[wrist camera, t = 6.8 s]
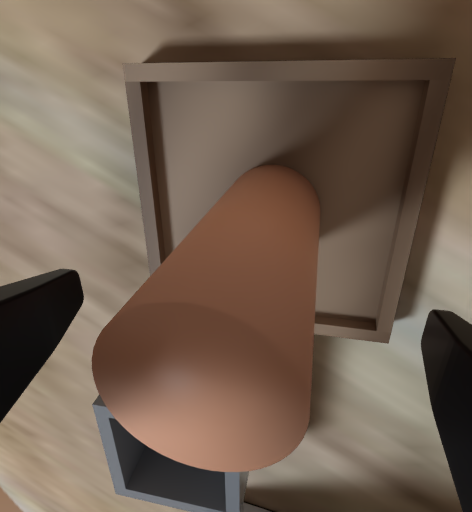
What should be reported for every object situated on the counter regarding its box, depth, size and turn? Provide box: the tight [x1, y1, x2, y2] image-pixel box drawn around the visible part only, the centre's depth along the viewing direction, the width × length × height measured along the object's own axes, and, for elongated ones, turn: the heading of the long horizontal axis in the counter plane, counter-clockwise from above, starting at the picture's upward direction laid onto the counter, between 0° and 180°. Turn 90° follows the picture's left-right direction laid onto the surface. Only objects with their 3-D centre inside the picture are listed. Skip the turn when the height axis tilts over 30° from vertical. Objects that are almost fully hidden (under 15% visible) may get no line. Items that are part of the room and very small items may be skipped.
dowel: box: [92, 165, 320, 472], centre depth 11 cm, size 4×4×10 cm
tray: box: [123, 58, 456, 343], centre depth 15 cm, size 11×11×1 cm
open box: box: [92, 394, 249, 512], centre depth 20 cm, size 7×7×5 cm
